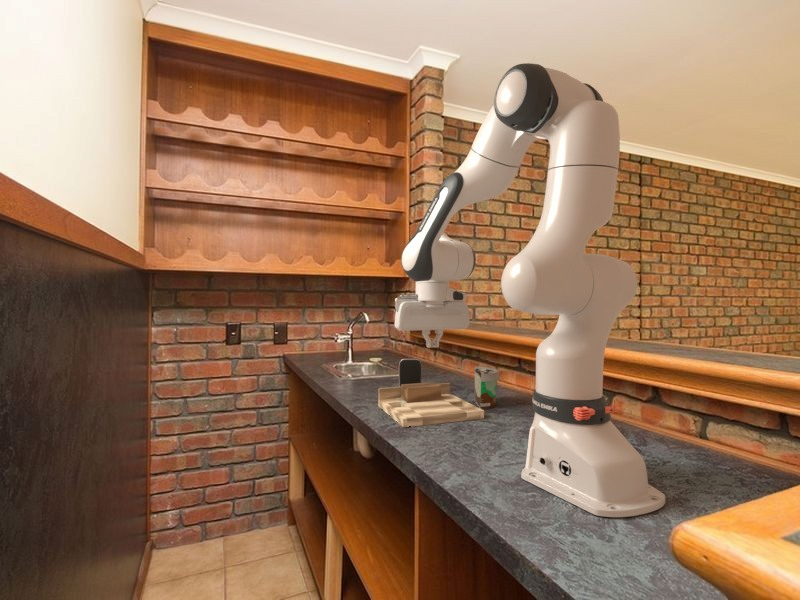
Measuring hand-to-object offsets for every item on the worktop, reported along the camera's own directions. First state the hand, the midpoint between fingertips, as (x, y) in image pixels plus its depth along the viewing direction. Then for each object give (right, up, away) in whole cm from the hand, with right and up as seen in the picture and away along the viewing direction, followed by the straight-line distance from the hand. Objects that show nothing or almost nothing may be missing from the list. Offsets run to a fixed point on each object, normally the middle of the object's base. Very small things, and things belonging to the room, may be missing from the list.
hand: (432, 347), depth 110 cm
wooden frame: (-1, -18, +2) cm, 18 cm away
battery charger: (-6, -18, +21) cm, 28 cm away
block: (-3, -16, +8) cm, 17 cm away
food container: (+17, -18, +10) cm, 26 cm away
